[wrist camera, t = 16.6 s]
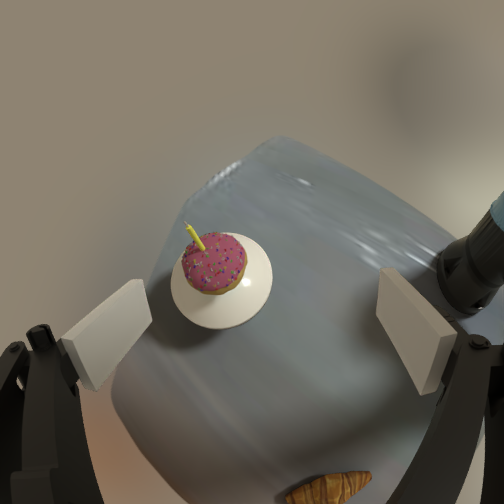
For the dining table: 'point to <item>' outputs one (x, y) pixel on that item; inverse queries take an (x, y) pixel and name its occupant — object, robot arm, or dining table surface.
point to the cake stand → (232, 302)
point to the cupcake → (214, 262)
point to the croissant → (330, 488)
